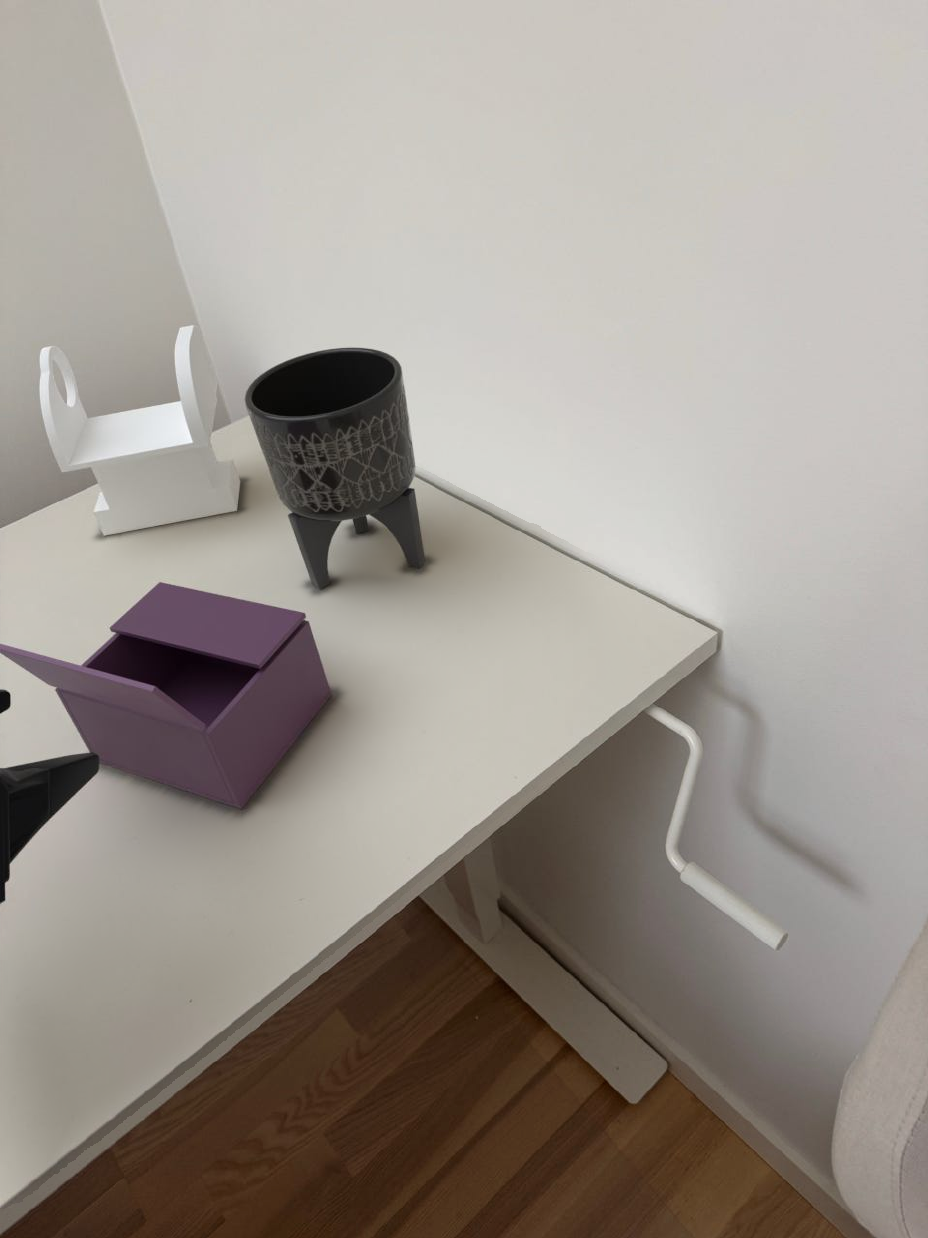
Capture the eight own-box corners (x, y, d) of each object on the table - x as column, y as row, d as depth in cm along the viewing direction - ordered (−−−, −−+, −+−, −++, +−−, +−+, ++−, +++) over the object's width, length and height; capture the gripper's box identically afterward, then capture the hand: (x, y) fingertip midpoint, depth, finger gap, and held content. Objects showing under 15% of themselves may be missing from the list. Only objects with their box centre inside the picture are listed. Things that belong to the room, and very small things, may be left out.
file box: (241, 809, 66) (204, 726, 61) (94, 761, 72) (49, 681, 67) (331, 695, 74) (306, 612, 69) (192, 659, 80) (159, 581, 75)
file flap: (206, 724, 61) (203, 730, 61) (52, 680, 67) (49, 685, 67) (155, 686, 57) (152, 692, 56) (-6, 641, 62) (-9, 647, 62)
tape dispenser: (97, 550, 96) (21, 384, 85) (118, 486, 106) (52, 330, 95) (236, 524, 96) (178, 355, 85) (243, 462, 106) (192, 304, 95)
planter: (295, 535, 93) (244, 364, 82) (425, 508, 94) (392, 335, 83) (299, 614, 83) (242, 432, 72) (445, 583, 84) (410, 398, 72)
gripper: (-235, 739, 33) (156, 650, 45) (-384, 582, 43) (-34, 543, 55) (-207, 998, 37) (148, 852, 49) (-351, 795, 47) (-29, 716, 59)
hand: (51, 728), depth 53 cm, fingers open, 9 cm apart
